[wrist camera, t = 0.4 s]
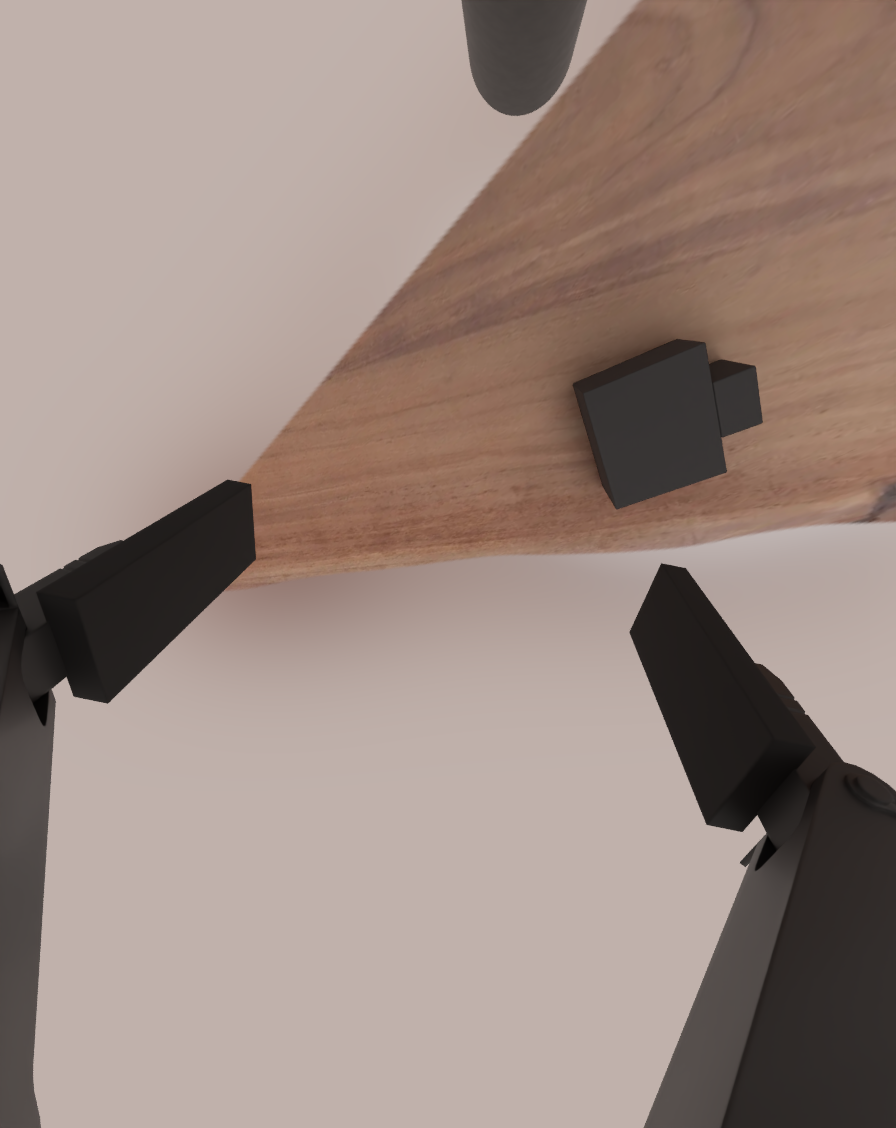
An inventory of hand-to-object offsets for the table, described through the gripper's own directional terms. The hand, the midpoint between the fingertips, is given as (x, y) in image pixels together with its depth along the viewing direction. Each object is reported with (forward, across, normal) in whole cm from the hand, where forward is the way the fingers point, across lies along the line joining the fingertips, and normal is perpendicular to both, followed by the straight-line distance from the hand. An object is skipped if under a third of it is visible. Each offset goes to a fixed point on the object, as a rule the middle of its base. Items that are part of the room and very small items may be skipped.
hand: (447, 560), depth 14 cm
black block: (+17, +10, +3) cm, 19 cm away
